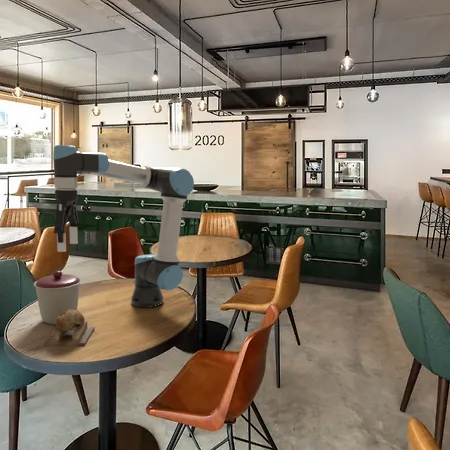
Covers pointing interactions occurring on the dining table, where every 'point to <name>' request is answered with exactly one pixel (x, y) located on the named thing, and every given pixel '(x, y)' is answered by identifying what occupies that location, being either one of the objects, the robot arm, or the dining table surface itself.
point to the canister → (57, 295)
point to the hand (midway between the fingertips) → (68, 247)
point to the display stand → (70, 336)
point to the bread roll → (70, 320)
